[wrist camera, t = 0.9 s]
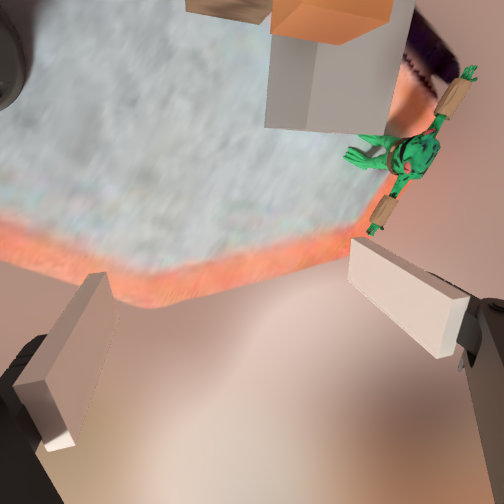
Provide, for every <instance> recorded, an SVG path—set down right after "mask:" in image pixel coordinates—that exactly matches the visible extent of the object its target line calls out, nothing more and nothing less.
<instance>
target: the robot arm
mask: <svg viewBox="0 0 504 504" xmlns="http://www.w3.org/2000/svg"><path fill="white" fill-rule="evenodd" d="M24 77H25V59H24V53H23V49H22V46H21V43H20V40H19V37H18V35H17V33H16V31H15V29H14V27H13V25H12V23H11V22H10V20H9V18H8V17H7V15H6V14H5V12H4V11H3V10H2V8H1V7H0V111H1V110H3V109H5V108H6V107H8V106H9V105H10V104H11V103H12V102H13V101H14V100H15V99H16V98H17V96H18V94H19V93H20V91H21V89H22V86H23V82H24ZM348 281H349V282H350V283H351V284H352V285H353V286H354V287H355V288H357V289H358V290H359V291H360V292H361V293H362V294H364V295H365V296H366V297H367V298H368V299H369V300H370V301H371V302H373V303H374V304H375V305H376V306H377V307H378V308H379V309H381V310H382V311H383V312H384V313H385V314H386V315H387V316H388V317H390V318H391V319H392V320H393V321H394V322H395V323H396V324H398V325H399V326H400V327H401V328H402V329H403V330H404V331H406V332H407V333H408V334H409V335H410V336H411V337H412V338H413V339H415V340H416V341H417V342H418V343H419V344H420V345H421V346H423V347H424V348H425V349H426V350H427V351H428V352H429V353H430V354H432V355H433V356H434V357H435V358H436V359H437V358H441V357H445V356H450V355H452V354H453V352H454V348H455V345H456V342H457V343H458V344H460V345H461V346H462V347H464V351H463V354H462V357H461V360H460V363H459V366H458V371H459V372H461V370H462V368H464V367H465V371H466V376H467V380H468V385H469V389H470V393H471V398H472V402H473V407H474V411H475V416H476V420H477V424H478V429H479V434H480V438H481V443H482V447H483V452H484V456H485V461H486V465H487V469H488V474H489V479H490V483H491V488H492V492H493V497H494V501H495V504H504V300H501V299H497V298H483V299H479V298H477V297H475V296H473V295H472V294H469V293H468V292H466V291H464V290H462V289H461V288H459V287H457V286H455V285H452V283H450V282H448V281H444V279H442V278H441V277H439V276H437V275H435V274H433V273H430V272H427V271H424V270H423V269H421V268H419V267H417V266H415V265H414V264H412V263H410V262H408V261H406V260H405V259H403V258H401V257H399V256H397V255H396V254H394V253H392V252H390V251H389V250H387V249H385V248H383V247H381V246H380V245H378V244H376V243H374V242H372V241H371V240H369V239H367V238H365V237H357V238H352V239H351V250H350V261H349V270H348ZM118 321H119V315H118V311H117V308H116V304H115V301H114V297H113V294H112V291H111V287H110V284H109V280H108V277H107V273H106V272H101V273H93V274H89V275H88V276H87V278H86V279H85V281H84V282H83V284H82V285H81V286H80V288H79V290H78V291H77V292H76V294H75V296H74V297H73V298H72V300H71V301H70V303H69V304H68V306H67V307H66V308H65V310H64V311H63V313H62V314H61V316H60V317H59V319H58V320H57V322H56V323H55V325H54V326H53V328H52V329H51V330H50V332H49V333H48V334H45V335H40V336H37V337H35V338H34V339H33V340H31V341H30V342H29V343H27V344H26V345H25V346H24V347H23V348H22V350H21V351H20V352H19V354H18V355H17V356H16V359H14V360H13V362H12V363H11V364H10V366H9V368H8V369H6V371H5V372H4V374H3V375H2V376H1V377H0V504H64V502H63V501H62V499H61V497H60V495H59V494H58V492H57V490H56V489H55V487H54V486H53V483H52V482H51V480H50V478H49V477H48V475H47V473H46V471H45V470H44V468H43V466H42V465H41V463H40V461H39V459H38V458H37V456H36V454H35V452H36V450H37V447H38V445H39V443H40V441H41V440H42V442H43V444H44V446H45V447H46V449H47V451H48V452H49V451H54V450H58V449H62V448H66V447H70V446H75V445H76V442H77V439H78V436H79V433H80V431H81V428H82V425H83V422H84V419H85V416H86V413H87V410H88V408H89V405H90V402H91V399H92V396H93V393H94V390H95V388H96V384H97V382H98V379H99V376H100V373H101V370H102V367H103V364H104V362H105V359H106V356H107V353H108V350H109V347H110V345H111V341H112V339H113V336H114V333H115V330H116V327H117V324H118Z"/></svg>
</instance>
